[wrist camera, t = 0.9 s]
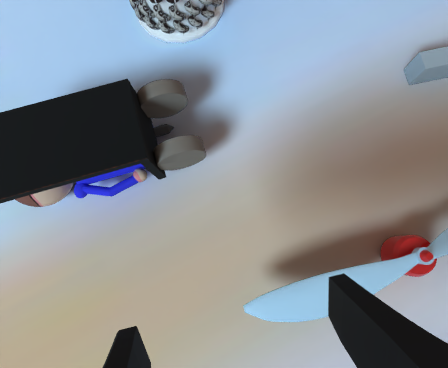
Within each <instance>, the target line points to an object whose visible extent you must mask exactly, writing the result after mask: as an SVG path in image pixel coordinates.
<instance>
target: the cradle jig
mask: <svg viewBox="0 0 448 368" xmlns="http://www.w3.org/2000/svg"><path fill="white" fill-rule="evenodd" d="M404 72H405V75H406V78H407V81H408V83H409V85H412V84H417V83H422V82H427V81H431V80H436V79H441V78H446V77H448V46H447V47H442V48H437V49H432V50H428V51H423V52H419V53H418V54H417V56H416V57H415V58H414V59H413V60H412V61H411V62H410V63H409V64H408V65H407V66H406V68H405V69H404Z"/></svg>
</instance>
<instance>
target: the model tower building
mask: <svg viewBox="0 0 448 368" xmlns="http://www.w3.org/2000/svg"><path fill="white" fill-rule="evenodd" d="M129 1H130V4H131V6H132V8H133V9H134V10H135V14H136V16H137V17H138V19H139V22H140V25H141V26H142V27H143V28H144V29H145V30H146V31H147V32H148V33H149V34H150V35H151V36H152V37H154V38H157V39H159V40H161V41H164V42H166V43H187V42H190V41H193V40H196V39H199V38H202V37H203V36H204V35H205V34H207V33H208V32H209V31H210V30H212V29H213V28H214V27H215V26H216V24H217V22H218V21H219V19H220V17H221V15H222V13H223V6H224V0H129Z"/></svg>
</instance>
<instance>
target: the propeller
mask: <svg viewBox="0 0 448 368" xmlns="http://www.w3.org/2000/svg"><path fill="white" fill-rule="evenodd" d="M444 255H448V228H447V229H446V230H445V231H443V232H442V233H441V234H440V235H439V236H438V237H437V238H436V239H435V240H434V241H433V242H432V243H429V242H428V241H427V240H426V239H424V238H423V237H420V236H417V235H401V236H393V237H390V238H388V239H387V240H386V241H385V242H384V243H383V245H382V247H381V259H382V261H380V262H374V263H369V264H363V265H358V266H353V267H349V268H344V269H340V270H336V271H331V272H327V273H324V274H320V275H316V276H313V277H310V278H307V279H303V280H300V281H297V282H294V283H291V284H289V285H286V286H284V287H281V288H278V289H276V290H273V291H271V292H268V293H266V294H264V295H261V296H259V297H257V298H256V299H254V300H252V301H250V302H249V303H247V304H245V305H244V310H245V313H248V314H250V315H253V316H255V317H258V318H260V319H263V320H267V321H274V322H302V321H308V320H315V319H320V318H324V317H327V316H328V289H329V277H331V276H335V275H339V274H343V273H344V274H346V275H347V276H348V277H350V278H351V279H352V280H354V281H355V282H356V283H358V284H359V285H361V286H362V287H363V288H365V289H366V290H367V291H369V292H370V293H371V294H375V293H376V292H378V291H379V290H381V289H383V288H384V287H386V286H387V285H389V284H391V283H392V282H394V281H395V280H397V279H398V278H400V277H401V276H403V275H407V276H414V277H420V276H424V275H426V274H427V273H429V272H430V271H431V270H432V269H433V268H434V267H435V265H436V261H437V258H439V257H441V256H444Z"/></svg>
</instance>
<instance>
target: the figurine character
mask: <svg viewBox="0 0 448 368" xmlns="http://www.w3.org/2000/svg"><path fill="white" fill-rule="evenodd" d="M187 103H188V100H187V97H186V93H185V90H184V86H183V85H182V83H180V82H179V81H176V80H171V79H163V80H157V81H153V82H151V83H148V84H146V85H145V86H143V87H142V88H141V89H140V90H139V91H138V93H136V91H135V90H134V89H133V87H132V86H131V84H130V82H129V80H128V79H125V80H121V81H117V82H114V83H110V84H106V85H102V86H99V87H95V88H91V89H87V90H84V91H80V92H76V93H72V94H69V95H65V96H61V97H57V98H54V99H50V100H46V101H42V102H38V103H35V104H31V105H27V106H23V107H20V108H16V109H12V110H8V111H5V112H1V113H0V203H3V202H7V201H10V200H14V199H15V200H17V201H18V202H20V203H22V204H25V205H28V206H34V207H43V206H49V205H52V204H55V203H57V202H59V201H60V200H62V199H63V198H64V197H65V196H66V195H67V194H68V193H69V192H70V190H71V188H72V186H73V183H74V182H76V185H75V187H74V193H75V195H76V197H78V198H84V197H85V196H86V195H87V194H96V195H104V196H114V195H116V194H117V193H119V192H121V191H123V190H125V189H127V188H129V187H131V186H132V185H134V184H136V183H138V182H143V181H145V180H146V178H147V173H146V171H145V170H144V169H147V170H149V171H150V172H151V173H152V174H153V175H154V176H156V177H157V178H158V179H162V178H166V174H165V171H164V170H177V169H182V168H186V167H189V166H192V165H194V164H196V163H198V162H200V161H201V160H203V159H204V158H205V157H206V152H205V149H204V145H203V142H202V139H201V138H200V137H199V136H195V135H184V136H178V137H174V138H171V139H168V140H166V141H164V142H162V143H160V144H159V145H158V144H157V140H156V137H157V136H161V135H164V134H168V133H170V132H171V131H172V129H173V128H174V127H173V126H170V125H167V124H165V125H161V126H158V127H154V128H153V125H152V121H151V118H164V117H169V116H172V115H174V114H177V113H178V112H180V111H182V110H183V109H184V108H185V107H186V105H187ZM130 172H133V176H131V177H129V178H127V179H125V180H123V181H122V182H120V183H118V184H116V185H114V186H112V187H101V186H93V185H88V184H91V183H95V182H98V181H102V180H106V179H109V178H113V177H116V176H120V175H123V174H127V173H130Z"/></svg>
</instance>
